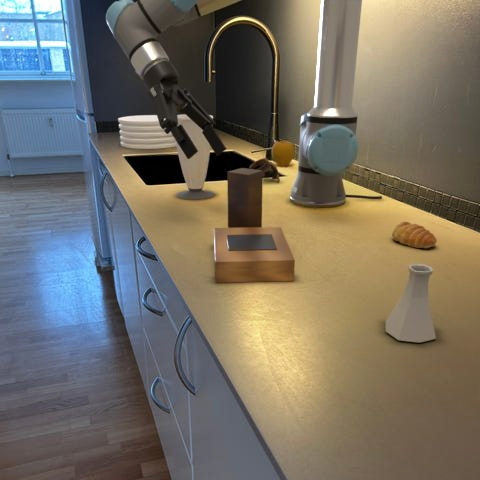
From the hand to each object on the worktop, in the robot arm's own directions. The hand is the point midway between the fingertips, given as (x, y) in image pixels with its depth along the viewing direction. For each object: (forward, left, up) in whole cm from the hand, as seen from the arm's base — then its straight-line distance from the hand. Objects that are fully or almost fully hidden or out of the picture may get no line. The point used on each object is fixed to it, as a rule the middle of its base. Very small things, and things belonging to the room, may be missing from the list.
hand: (208, 153), depth 114 cm
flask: (-29, +54, -17) cm, 64 cm away
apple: (-27, -77, -17) cm, 83 cm away
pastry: (-44, +14, -17) cm, 49 cm away
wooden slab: (-8, +24, -17) cm, 30 cm away
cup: (+4, -32, -17) cm, 36 cm away
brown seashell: (-18, -50, -17) cm, 55 cm away
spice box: (-8, +6, -17) cm, 19 cm away
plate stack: (+27, -134, -17) cm, 137 cm away
